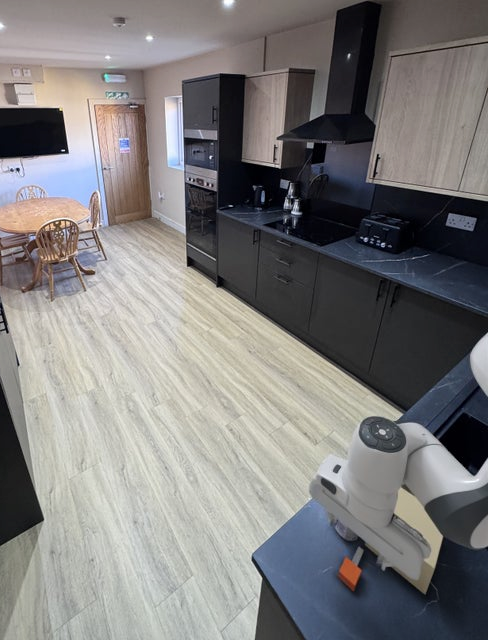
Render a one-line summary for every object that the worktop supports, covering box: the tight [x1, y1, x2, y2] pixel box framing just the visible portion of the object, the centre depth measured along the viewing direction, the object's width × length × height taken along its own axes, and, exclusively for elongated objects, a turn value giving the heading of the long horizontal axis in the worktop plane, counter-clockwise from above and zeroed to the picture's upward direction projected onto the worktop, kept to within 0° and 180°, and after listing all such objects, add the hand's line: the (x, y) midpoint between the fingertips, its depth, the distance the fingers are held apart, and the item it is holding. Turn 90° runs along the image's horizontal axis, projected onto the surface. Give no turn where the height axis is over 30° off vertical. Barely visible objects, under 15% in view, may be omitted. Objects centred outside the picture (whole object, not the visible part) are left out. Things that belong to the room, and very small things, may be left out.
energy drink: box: [334, 519, 359, 542], centre depth 75 cm, size 5×5×12 cm
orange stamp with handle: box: [337, 546, 365, 592], centre depth 70 cm, size 8×3×2 cm, turn 133°
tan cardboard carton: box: [364, 487, 444, 595], centre depth 72 cm, size 13×12×9 cm
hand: (355, 542), depth 65 cm, fingers open, 8 cm apart
